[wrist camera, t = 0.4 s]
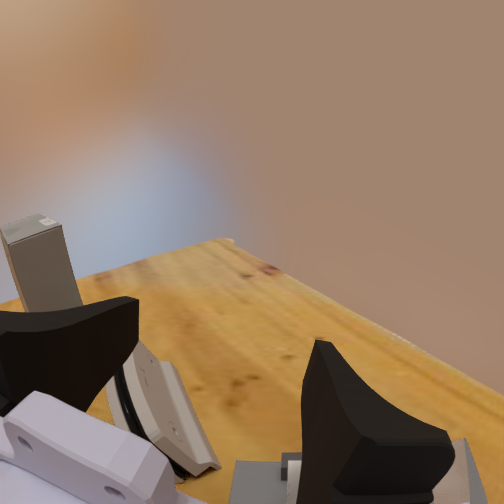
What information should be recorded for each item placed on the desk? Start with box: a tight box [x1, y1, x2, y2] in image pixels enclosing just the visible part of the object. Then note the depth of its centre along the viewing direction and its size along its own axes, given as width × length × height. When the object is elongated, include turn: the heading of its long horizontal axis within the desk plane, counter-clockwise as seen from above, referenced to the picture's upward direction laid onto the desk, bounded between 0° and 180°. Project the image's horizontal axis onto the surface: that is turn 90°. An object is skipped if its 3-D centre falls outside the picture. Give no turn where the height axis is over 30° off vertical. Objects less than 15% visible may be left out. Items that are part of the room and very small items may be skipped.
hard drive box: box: [0, 214, 83, 312], centre depth 38 cm, size 16×8×20 cm, turn 49°
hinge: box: [105, 340, 222, 484], centre depth 28 cm, size 17×5×10 cm, turn 25°
